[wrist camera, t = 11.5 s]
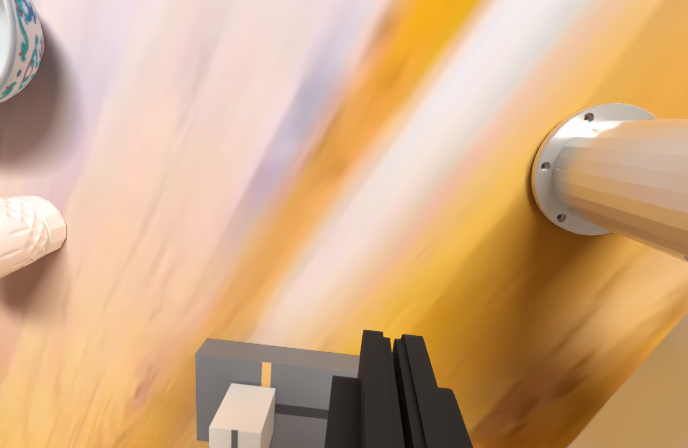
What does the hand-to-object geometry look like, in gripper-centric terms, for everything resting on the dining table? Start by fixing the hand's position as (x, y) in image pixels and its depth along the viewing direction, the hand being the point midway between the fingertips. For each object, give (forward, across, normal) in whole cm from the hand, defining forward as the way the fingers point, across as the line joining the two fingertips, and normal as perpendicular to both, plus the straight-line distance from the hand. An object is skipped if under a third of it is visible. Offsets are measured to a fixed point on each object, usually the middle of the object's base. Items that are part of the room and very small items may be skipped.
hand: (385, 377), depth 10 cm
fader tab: (+24, +10, +25) cm, 36 cm away
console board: (+27, +4, +25) cm, 37 cm away
